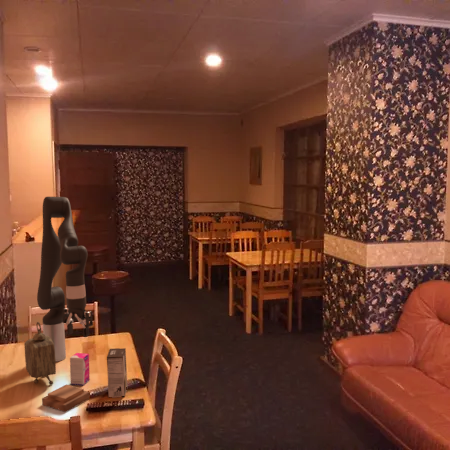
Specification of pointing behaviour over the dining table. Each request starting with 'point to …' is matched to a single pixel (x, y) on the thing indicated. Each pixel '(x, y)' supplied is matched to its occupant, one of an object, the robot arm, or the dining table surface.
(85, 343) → the dining table surface
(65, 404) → the walnut base
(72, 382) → the supplement box
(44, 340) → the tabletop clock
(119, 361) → the coffee box
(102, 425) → the dining table surface
